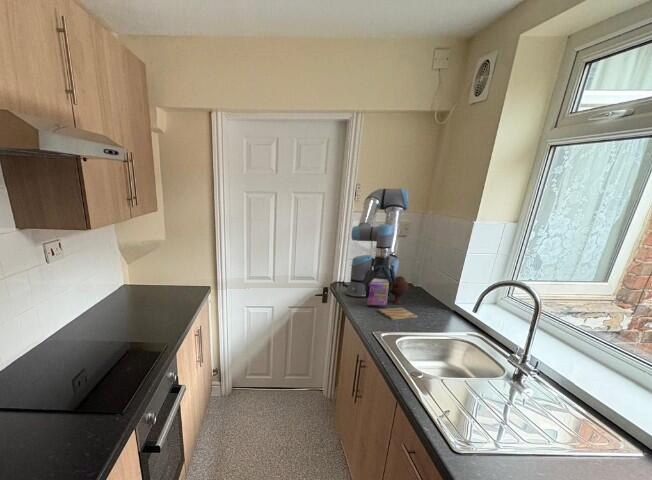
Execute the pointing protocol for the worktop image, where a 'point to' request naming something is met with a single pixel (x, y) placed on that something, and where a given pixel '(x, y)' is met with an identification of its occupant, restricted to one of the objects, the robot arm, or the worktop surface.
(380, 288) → the box
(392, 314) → the oak board
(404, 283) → the ice cream bowl
